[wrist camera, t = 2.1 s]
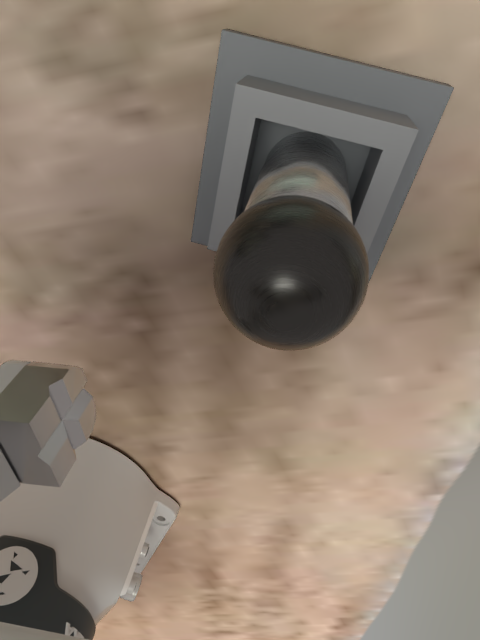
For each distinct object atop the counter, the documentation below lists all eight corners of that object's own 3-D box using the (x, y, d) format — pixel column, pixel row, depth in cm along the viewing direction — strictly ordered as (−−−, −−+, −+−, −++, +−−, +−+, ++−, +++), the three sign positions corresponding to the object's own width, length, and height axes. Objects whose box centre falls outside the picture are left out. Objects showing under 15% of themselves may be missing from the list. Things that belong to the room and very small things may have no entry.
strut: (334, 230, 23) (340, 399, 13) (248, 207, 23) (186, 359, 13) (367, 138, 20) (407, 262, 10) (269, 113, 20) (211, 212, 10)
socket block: (365, 276, 25) (370, 317, 22) (196, 232, 25) (175, 266, 22) (447, 83, 19) (473, 99, 16) (227, 28, 20) (206, 32, 16)
